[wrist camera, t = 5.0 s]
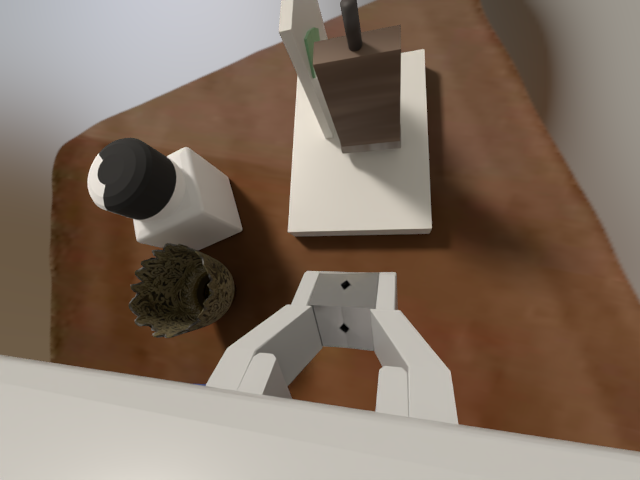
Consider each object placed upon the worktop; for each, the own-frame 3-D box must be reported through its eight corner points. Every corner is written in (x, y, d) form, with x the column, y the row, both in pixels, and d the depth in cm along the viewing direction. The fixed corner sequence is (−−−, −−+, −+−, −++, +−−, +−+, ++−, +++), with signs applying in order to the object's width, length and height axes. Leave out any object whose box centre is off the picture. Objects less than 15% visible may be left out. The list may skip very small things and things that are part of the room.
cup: (268, 277, 29) (223, 268, 22) (233, 343, 29) (175, 357, 21) (214, 246, 32) (157, 228, 24) (181, 306, 31) (113, 307, 24)
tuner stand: (429, 233, 26) (461, 163, 13) (294, 236, 30) (212, 182, 16) (422, 65, 30) (442, -123, 17) (303, 84, 33) (241, -60, 20)
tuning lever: (400, 152, 26) (403, 7, 13) (343, 157, 27) (296, 29, 15) (400, 132, 26) (403, -28, 14) (344, 138, 28) (299, -3, 15)
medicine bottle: (229, 176, 33) (142, 110, 22) (244, 231, 31) (157, 190, 20) (177, 200, 35) (70, 150, 23) (189, 255, 32) (77, 230, 21)
